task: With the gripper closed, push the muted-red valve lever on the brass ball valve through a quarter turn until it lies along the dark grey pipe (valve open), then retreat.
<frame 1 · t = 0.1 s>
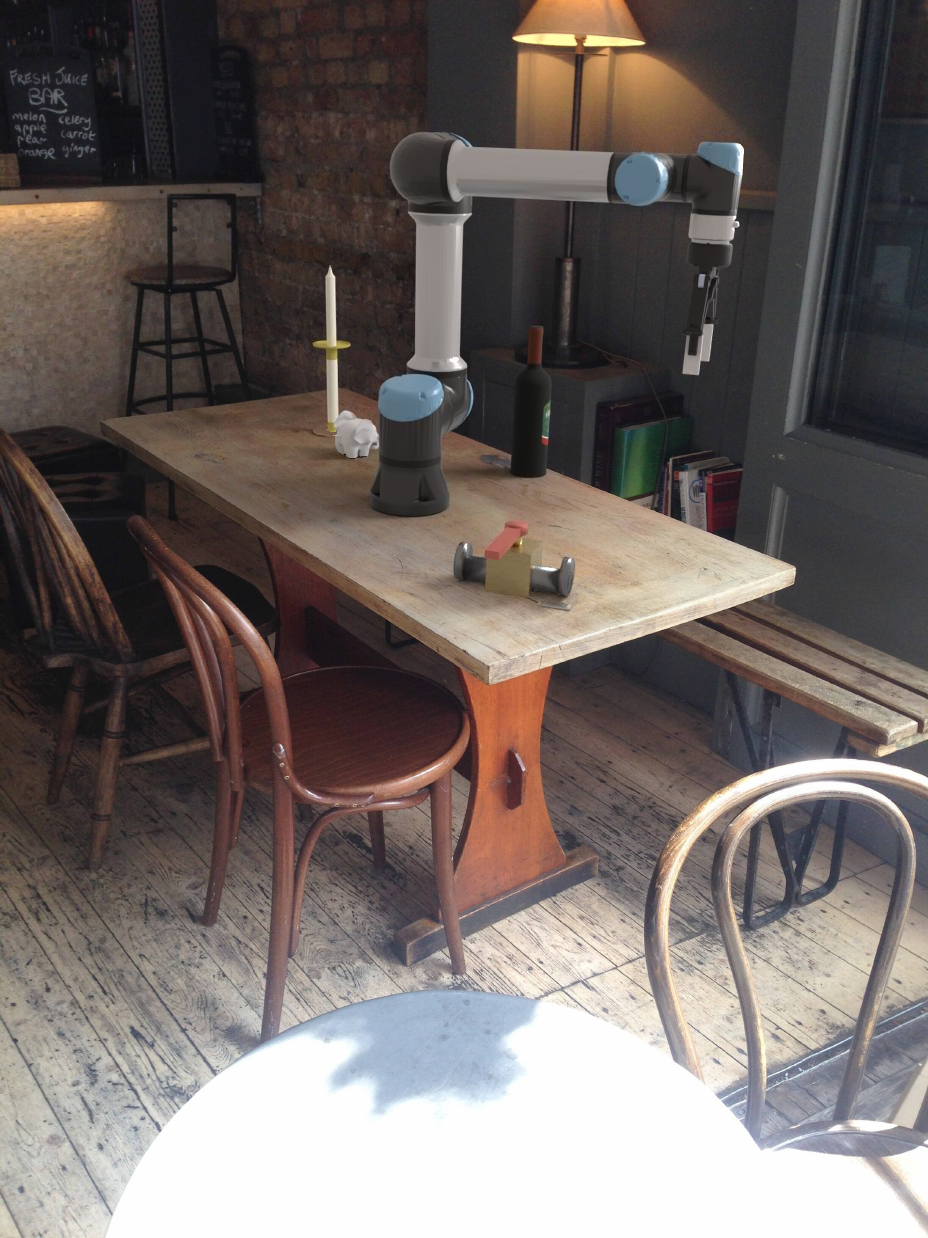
hand: (696, 367, 194), 28 cm above the table, fingers open, 13 cm apart
elephant figurine: (358, 455, 239), on the table
wine bottle: (528, 473, 230), on the table
lever: (506, 539, 163), point 10 cm above the table, hinge at -90.0°
valve: (513, 586, 172), on the table
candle: (333, 432, 256), on the table
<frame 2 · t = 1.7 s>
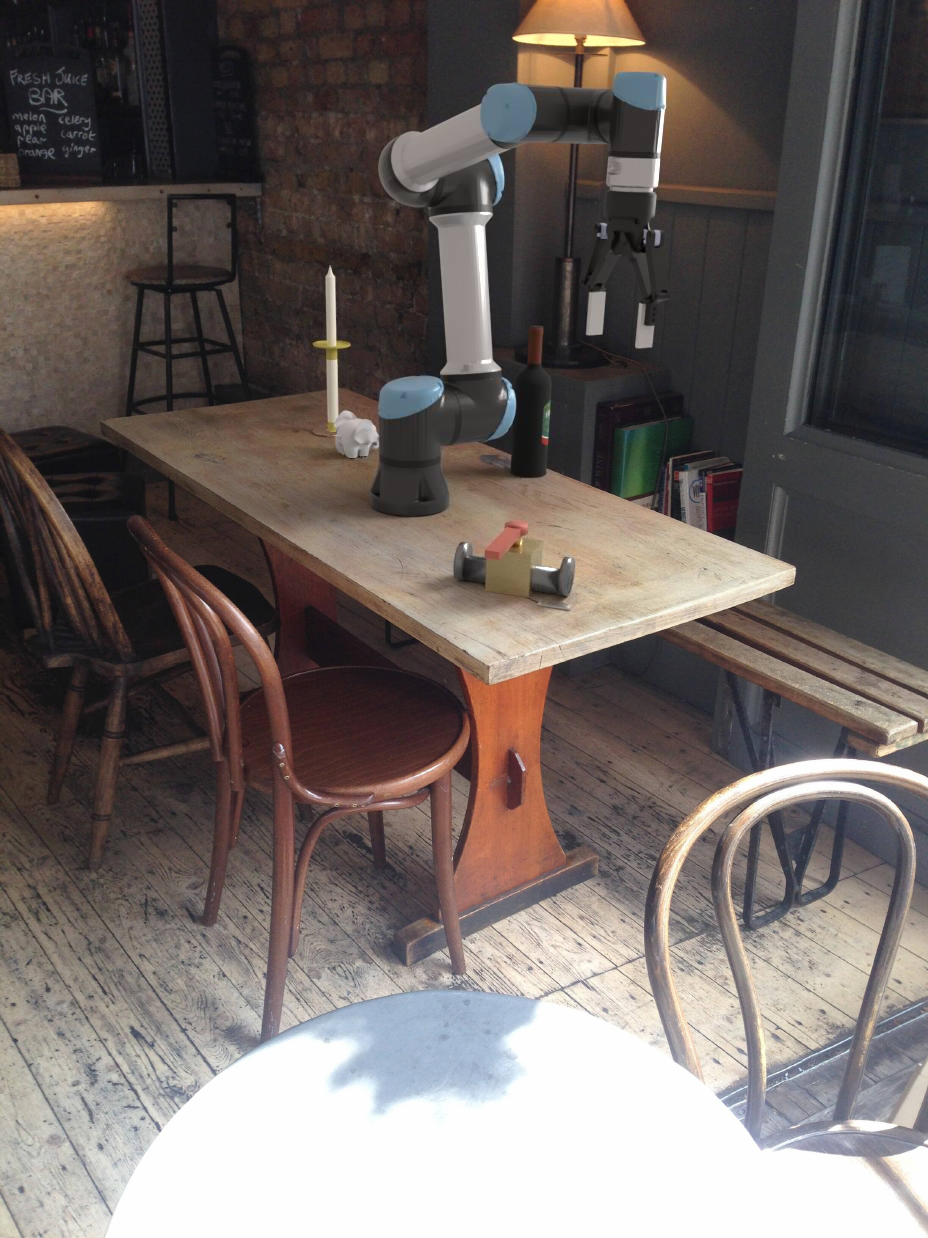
hand: (618, 340, 169), 36 cm above the table, fingers open, 11 cm apart
nothing on the table moved.
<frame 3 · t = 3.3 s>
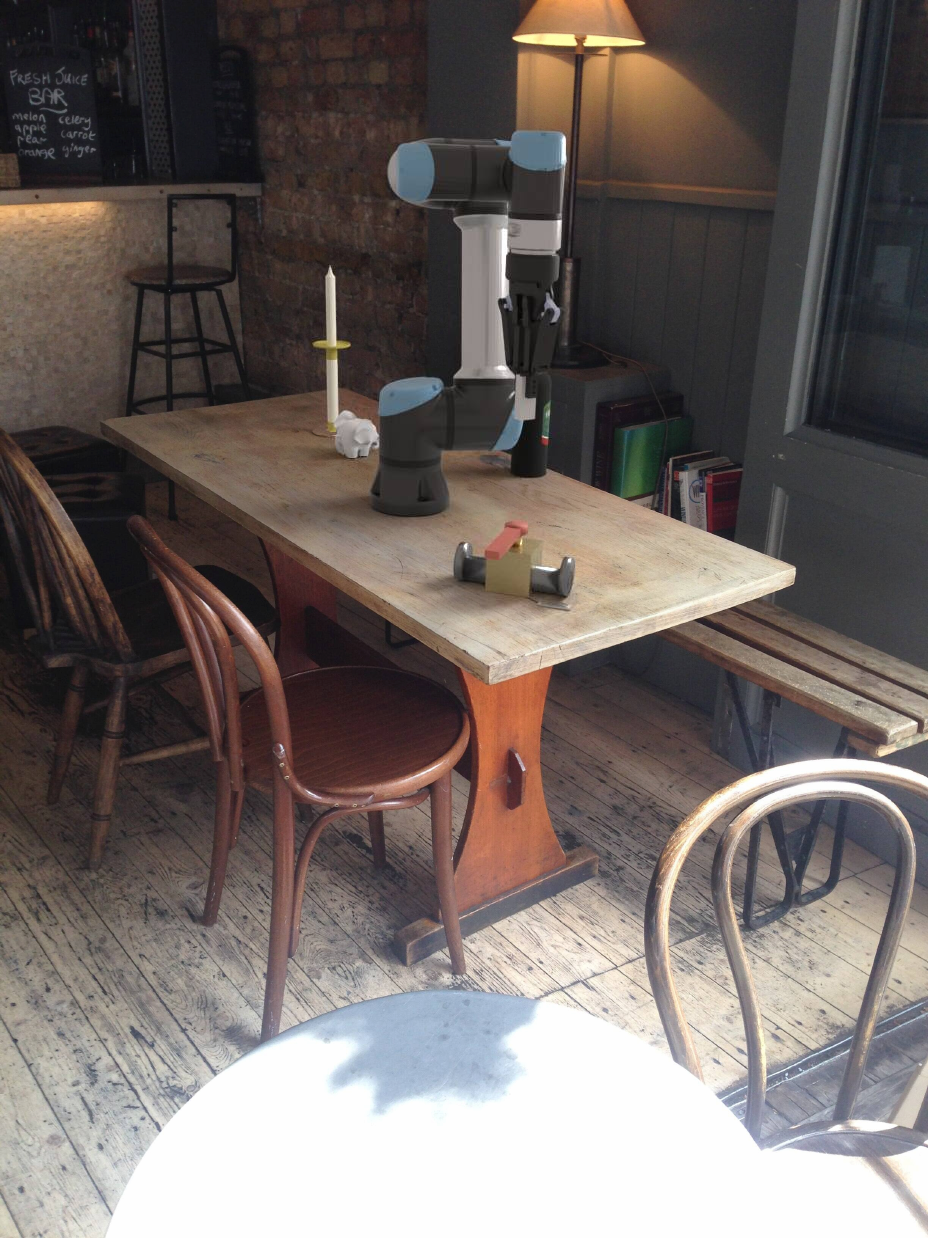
hand: (524, 418, 162), 26 cm above the table, fingers closed
nothing on the table moved.
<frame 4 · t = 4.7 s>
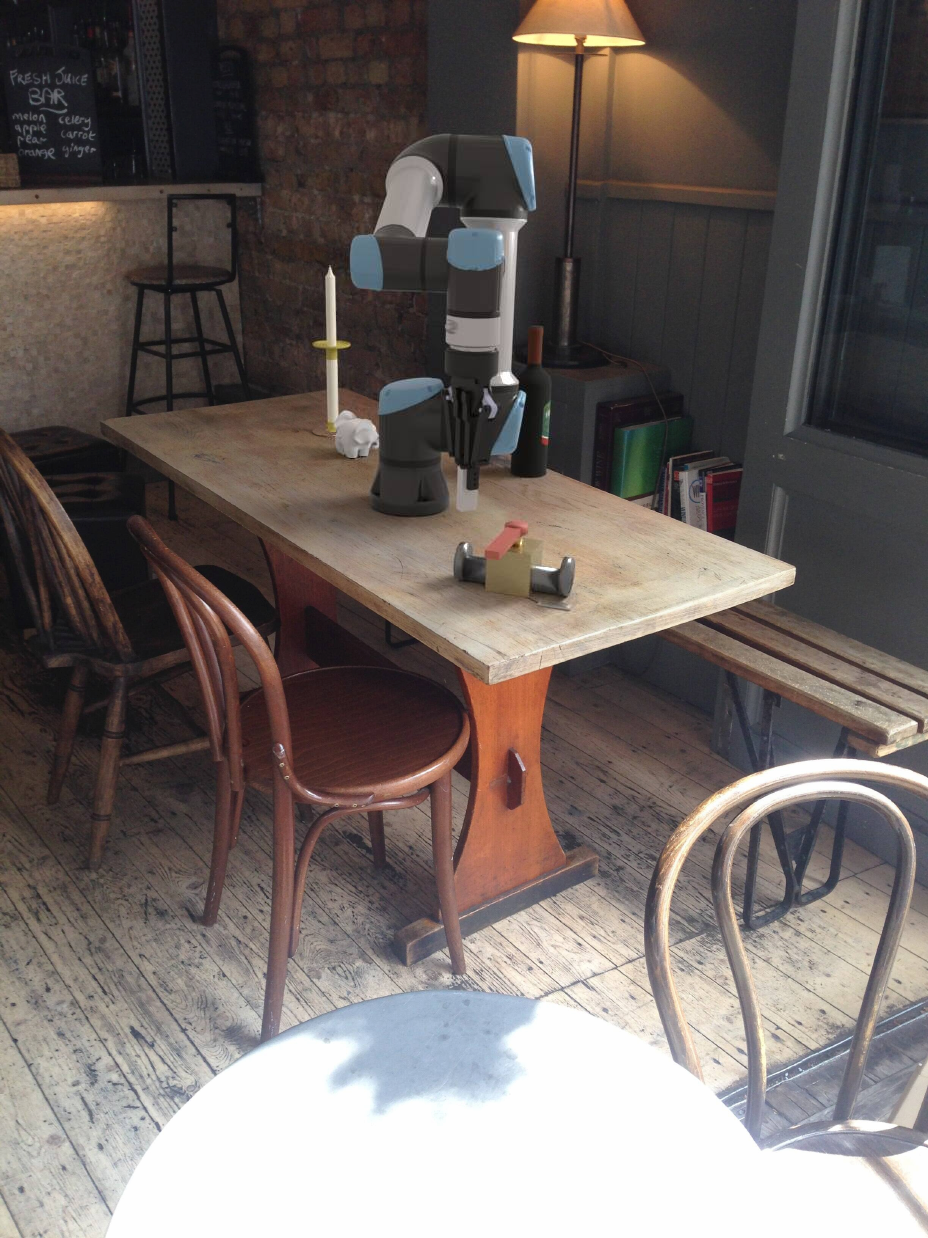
hand: (466, 508, 161), 14 cm above the table, fingers closed
nothing on the table moved.
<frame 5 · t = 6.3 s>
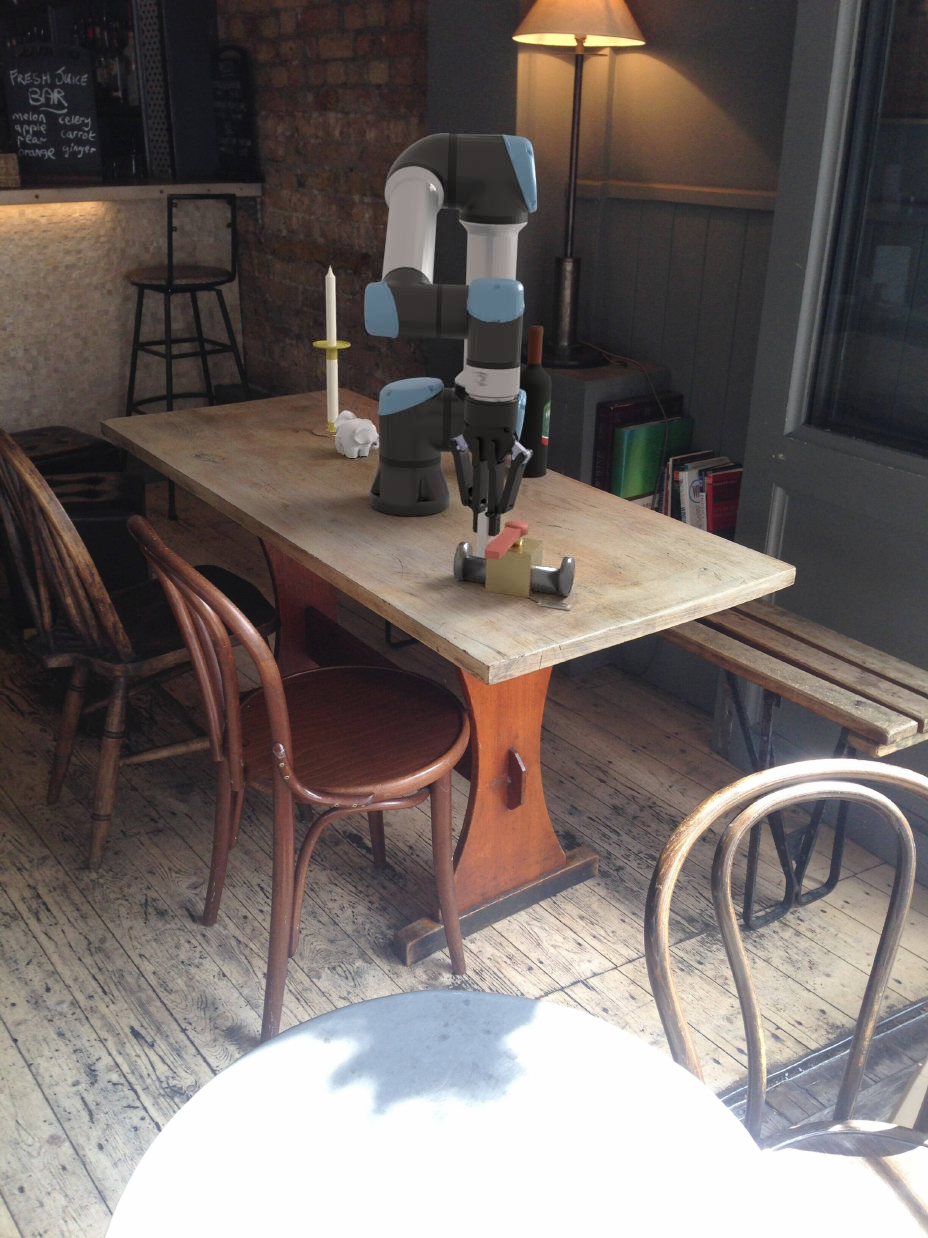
hand: (485, 554, 161), 8 cm above the table, fingers closed
lever: (506, 539, 163), point 10 cm above the table, hinge at -90.0°, touching gripper
everything else where it was.
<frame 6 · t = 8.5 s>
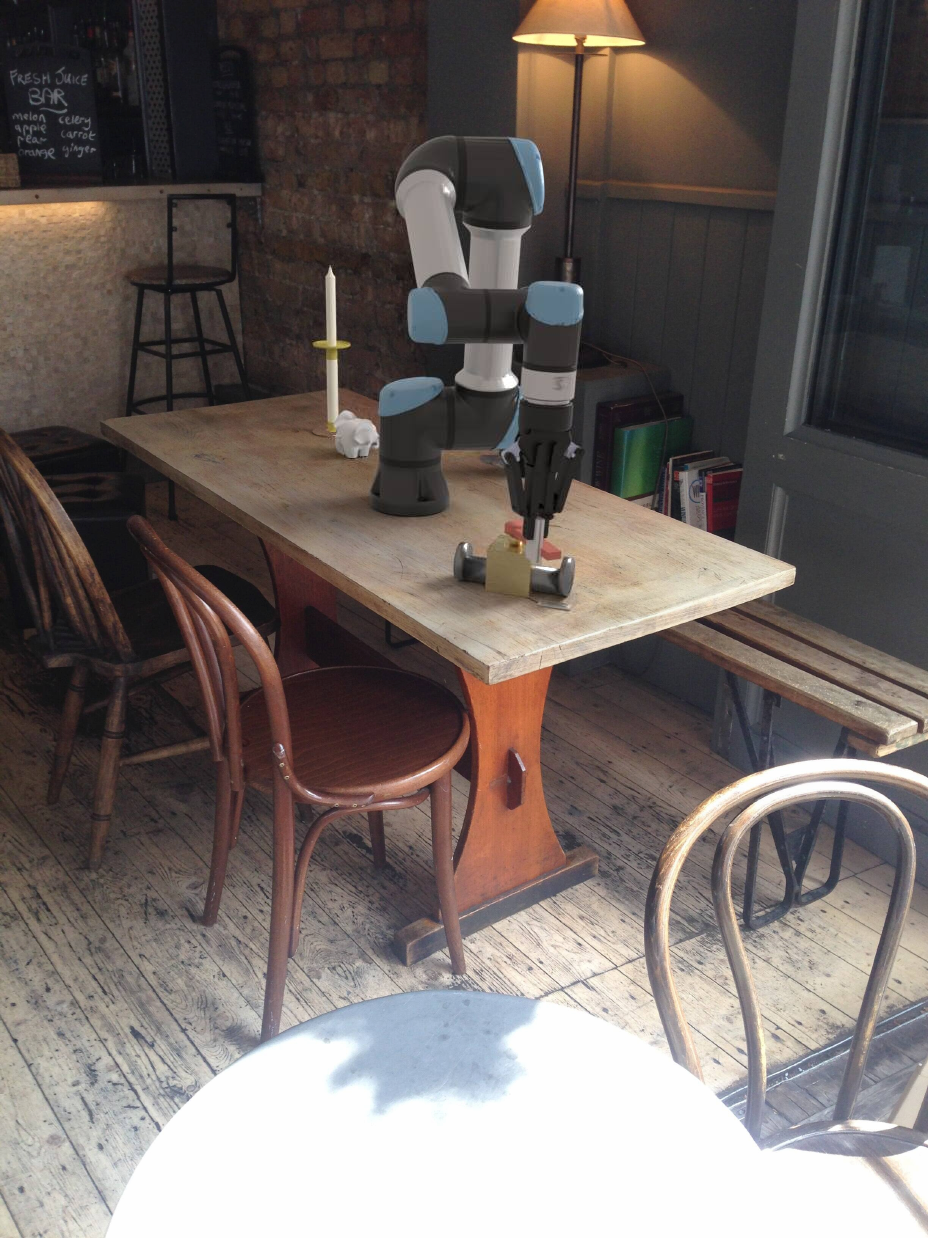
hand: (533, 559, 160), 8 cm above the table, fingers closed
lever: (532, 539, 163), point 10 cm above the table, hinge at -47.6°, touching gripper
everything else where it was.
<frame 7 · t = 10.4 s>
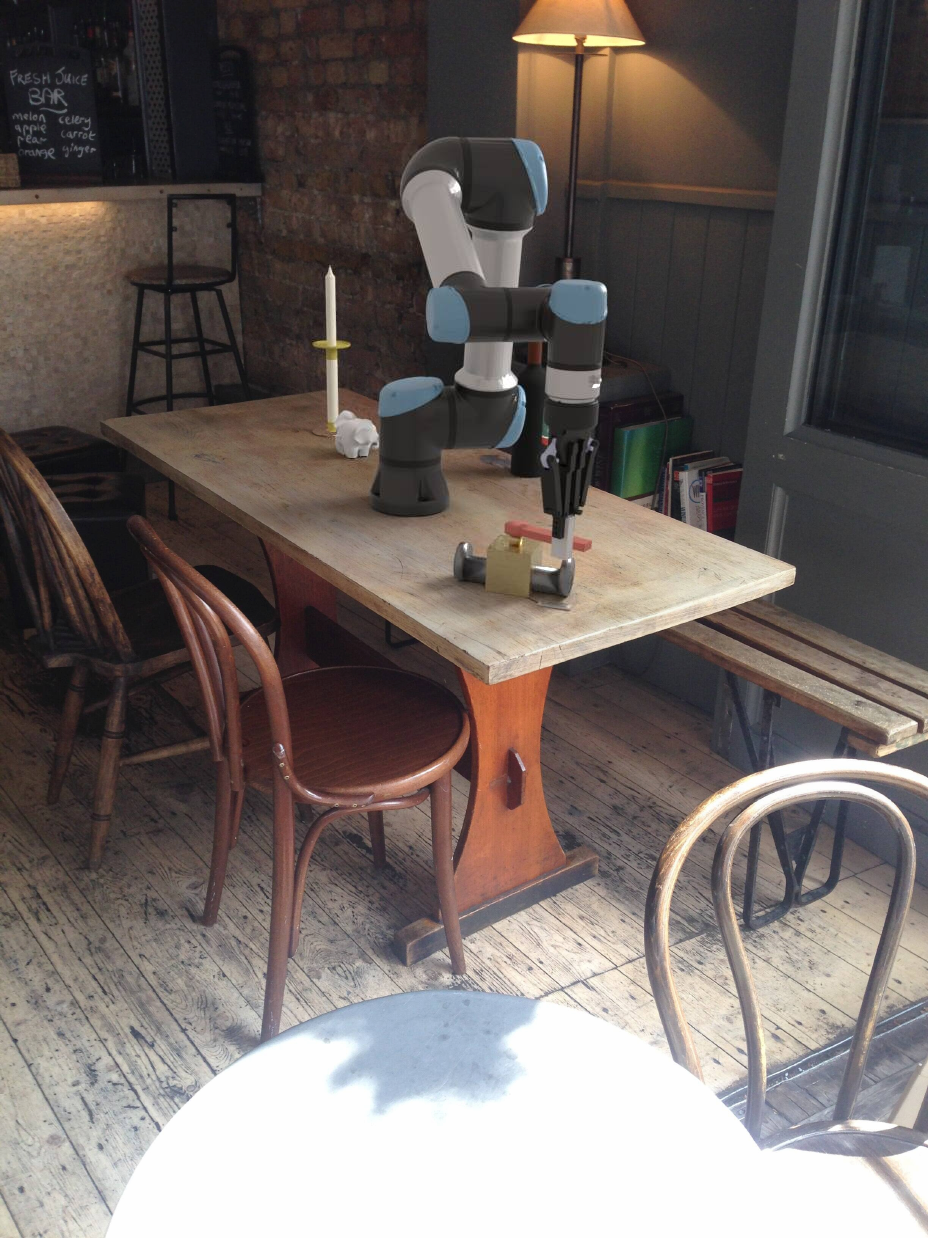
hand: (561, 556, 161), 8 cm above the table, fingers closed
lever: (546, 535, 165), point 10 cm above the table, hinge at -15.6°
everything else where it was.
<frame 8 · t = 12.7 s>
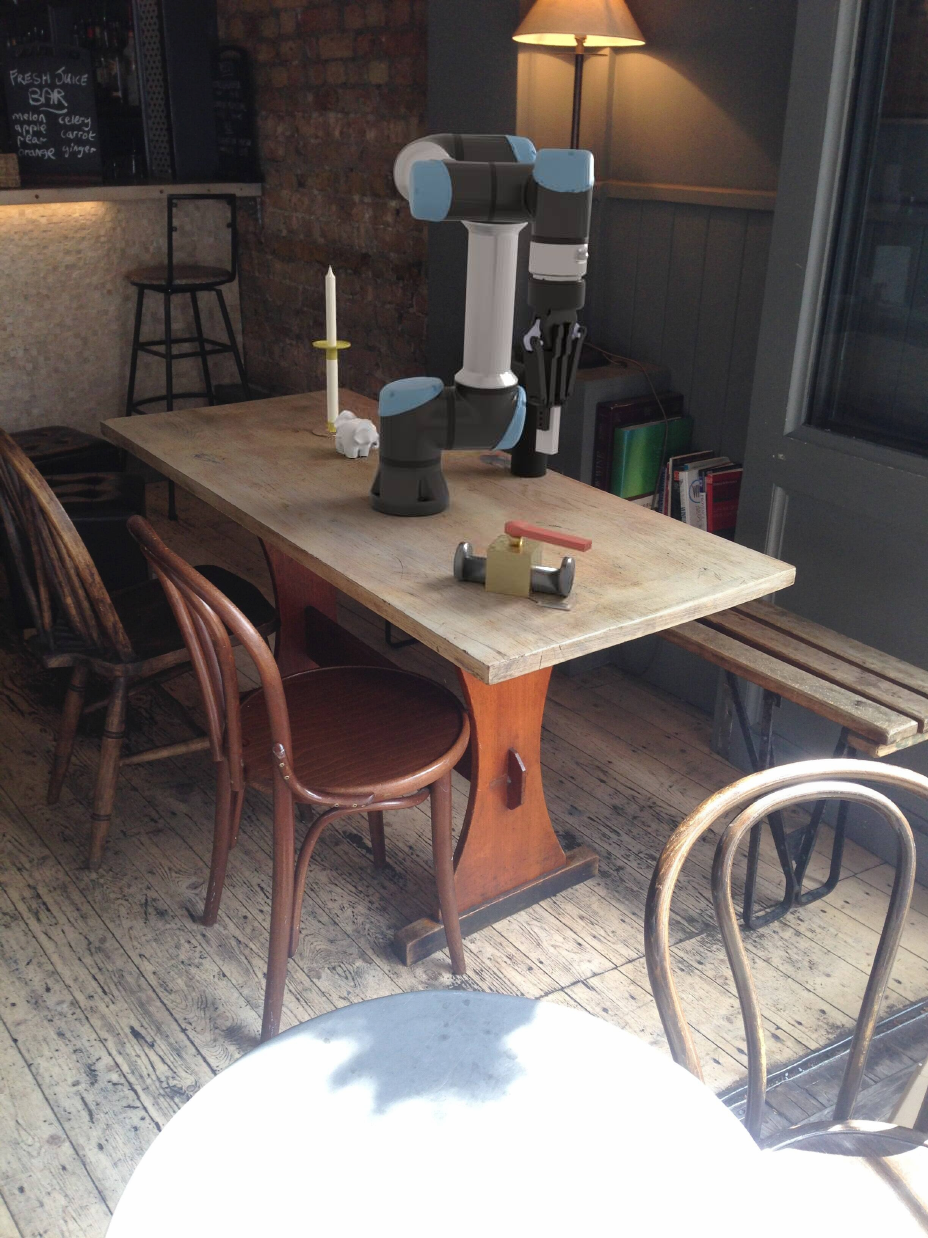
hand: (546, 451, 153), 24 cm above the table, fingers closed
nothing on the table moved.
at the end: lever at -16° (first picture: -90°) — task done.
